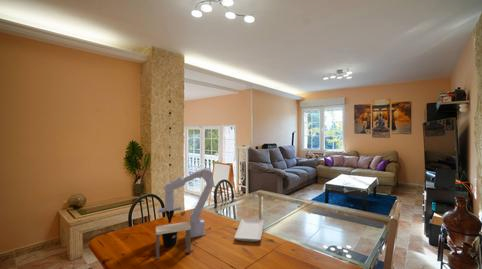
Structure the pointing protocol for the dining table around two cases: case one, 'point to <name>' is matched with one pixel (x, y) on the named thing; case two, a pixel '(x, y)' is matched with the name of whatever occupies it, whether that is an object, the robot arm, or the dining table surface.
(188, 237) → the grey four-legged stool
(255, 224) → the tray
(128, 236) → the dining table surface
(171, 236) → the mug
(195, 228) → the robot arm
